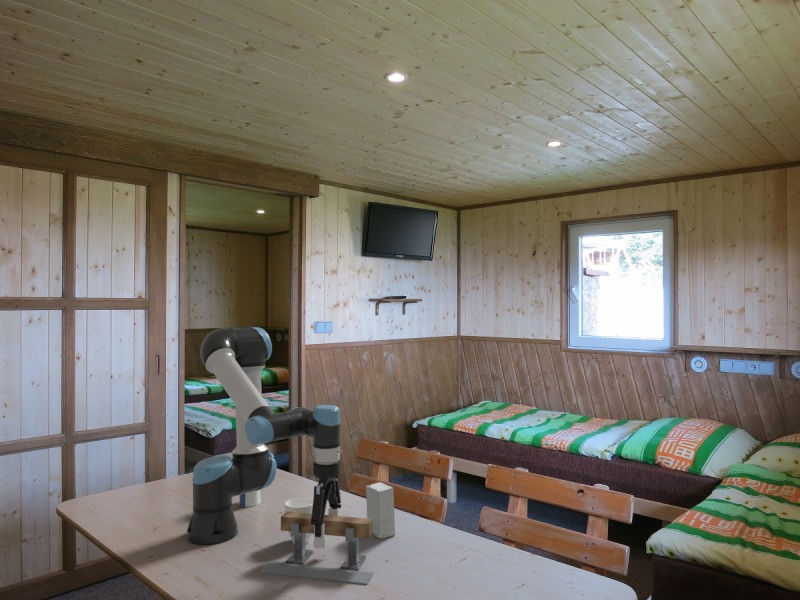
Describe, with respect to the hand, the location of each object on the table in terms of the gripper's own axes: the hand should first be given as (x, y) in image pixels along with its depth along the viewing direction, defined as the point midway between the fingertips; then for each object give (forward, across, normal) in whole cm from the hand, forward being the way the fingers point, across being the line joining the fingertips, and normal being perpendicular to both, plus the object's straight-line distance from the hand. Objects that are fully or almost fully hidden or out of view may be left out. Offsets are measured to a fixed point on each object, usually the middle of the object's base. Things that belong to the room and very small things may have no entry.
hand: (326, 539), depth 160 cm
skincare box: (+6, +22, -10) cm, 25 cm away
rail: (-2, 0, 0) cm, 2 cm away
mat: (+6, -8, 0) cm, 10 cm away
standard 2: (+6, 0, -8) cm, 10 cm away
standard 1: (+6, 0, +8) cm, 10 cm away
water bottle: (+6, +38, +43) cm, 58 cm away
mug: (+6, +12, +12) cm, 18 cm away
